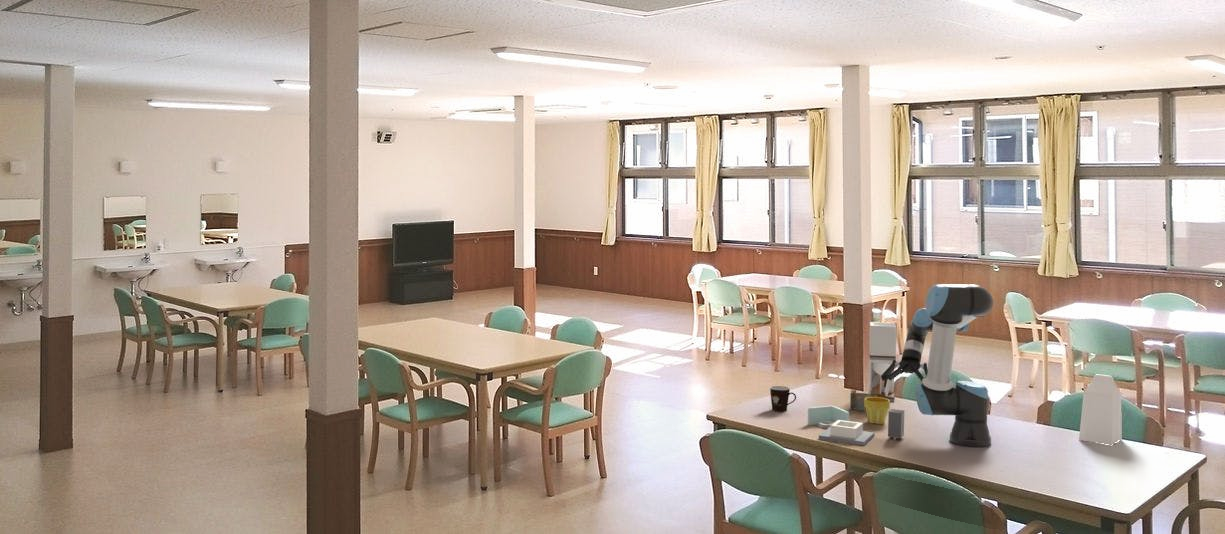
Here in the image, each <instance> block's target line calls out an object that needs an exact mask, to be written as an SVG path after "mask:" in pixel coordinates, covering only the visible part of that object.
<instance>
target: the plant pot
mask: <svg viewBox="0 0 1225 534" xmlns="http://www.w3.org/2000/svg"><path fill="white" fill-rule="evenodd" d="M890 405H891V402H890V400H889V399H886V398H881V397H867V398H865V399H864V406H865V407H866V411H865V412H866V416H867V417H866V418H867V422H868V423H869V422H870V423H869V424H873V423H876V424H875V425H883V424H885V423H886V418H887V415H888V414H887V413H888V412H889V411H888V410H889V409H890ZM882 423H883V424H882Z"/></svg>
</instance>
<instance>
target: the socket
mask: <svg viewBox="0 0 1225 534" xmlns="http://www.w3.org/2000/svg"><path fill="white" fill-rule="evenodd" d="M873 438H875V432H871V431H864V423H863V422H857V421H850V420H849V421H844V420H837V421H836V422H835V423H833V424H832V425H831V427H829V428H826V429H825V430H824V431H822V432H821V433H820V434H819V435H818V440H822V441H828V440H831V441H830V442H835V441H839V442H838V443H842V442H845V443H844V444H849V443H850V444H851V445H857V446H863V447H864V446H865V445H867V443H869V442H870V441H872V440H873Z"/></svg>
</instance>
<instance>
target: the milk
mask: <svg viewBox="0 0 1225 534" xmlns="http://www.w3.org/2000/svg"><path fill="white" fill-rule="evenodd" d="M1080 417H1081V418H1080V425H1079V435H1078V441H1081V440H1084V441H1083V442H1086V441H1091V442H1098V443H1104V444H1109V445H1112V444H1114V443H1115V442H1117V441H1118V440H1122V441H1123V439H1122V438H1123V437H1122V436H1123V435H1122V434H1123V432H1122V431H1123V428H1122V424H1123V419H1122V417H1123V416H1122V392H1121V390H1120V389H1119V387H1118V386H1117V385H1116V383H1115V380H1114V378H1113V375H1107V374H1102V373H1101V374H1100V373H1099V374H1098V373H1095V374H1094V376H1093V377H1092V378H1091V381H1090V382H1089V384H1088V385H1087V387H1086V389H1085V391H1084V392H1083V397H1082V405H1081V415H1080ZM1091 442H1090V443H1091Z"/></svg>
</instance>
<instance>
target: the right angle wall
mask: <svg viewBox="0 0 1225 534" xmlns="http://www.w3.org/2000/svg"><path fill="white" fill-rule="evenodd" d="M837 420H844V421H850V412H849V411H847V410H845V409H842V408H841V407H837V406H835V405H824V406H814V407H808V408H807V425H808V426H811V425H813V426H814V425H817V427H818V428H820V429H828V428H829V427H831V425H832V424H833V423H835V422H836V421H837Z"/></svg>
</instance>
